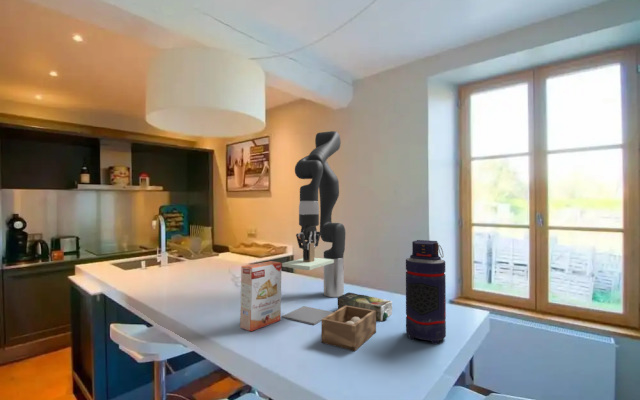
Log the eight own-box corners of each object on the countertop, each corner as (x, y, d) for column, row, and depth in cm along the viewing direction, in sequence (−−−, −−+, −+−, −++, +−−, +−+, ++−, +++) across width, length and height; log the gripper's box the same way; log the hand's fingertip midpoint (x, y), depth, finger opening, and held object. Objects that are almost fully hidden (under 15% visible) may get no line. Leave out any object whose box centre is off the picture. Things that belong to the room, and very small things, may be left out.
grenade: (442, 347, 93) (442, 243, 94) (401, 339, 99) (401, 241, 100) (449, 331, 105) (448, 239, 106) (412, 325, 111) (412, 238, 112)
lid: (307, 261, 131) (308, 239, 132) (333, 264, 125) (333, 241, 125) (282, 268, 117) (282, 243, 117) (309, 271, 111) (309, 246, 111)
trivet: (303, 307, 130) (303, 306, 130) (334, 313, 123) (334, 312, 123) (282, 317, 118) (282, 316, 118) (314, 325, 111) (314, 323, 111)
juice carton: (395, 315, 122) (395, 298, 122) (384, 322, 114) (384, 305, 114) (349, 306, 134) (349, 291, 134) (336, 312, 126) (336, 296, 126)
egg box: (345, 325, 110) (345, 305, 110) (375, 332, 105) (375, 310, 105) (321, 342, 97) (321, 319, 97) (354, 351, 91) (354, 326, 91)
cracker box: (251, 332, 104) (251, 267, 105) (239, 328, 108) (240, 265, 108) (282, 320, 115) (282, 262, 116) (270, 317, 119) (270, 260, 119)
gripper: (310, 212, 129) (310, 255, 129) (289, 213, 117) (289, 260, 117) (326, 213, 125) (326, 257, 125) (306, 213, 113) (306, 262, 113)
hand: (308, 258), depth 121 cm, fingers closed on lid, 3 cm apart
